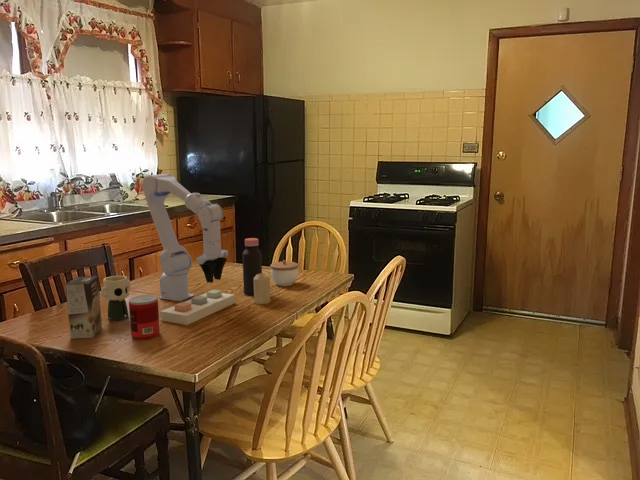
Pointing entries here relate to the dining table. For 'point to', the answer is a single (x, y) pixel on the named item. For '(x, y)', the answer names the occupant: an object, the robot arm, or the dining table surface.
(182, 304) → the terracotta button
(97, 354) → the dining table surface
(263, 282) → the candle
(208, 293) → the sage button
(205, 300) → the slate button
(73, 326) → the coffee box
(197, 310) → the button panel
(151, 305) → the canned food
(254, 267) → the bottle
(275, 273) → the lidded jar
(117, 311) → the character mug
